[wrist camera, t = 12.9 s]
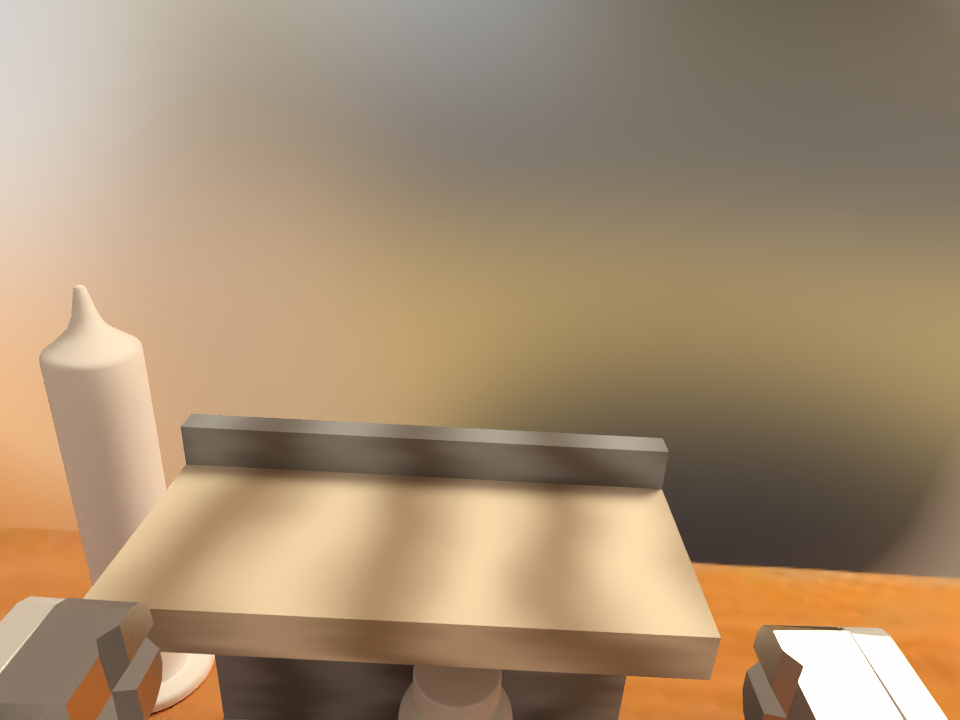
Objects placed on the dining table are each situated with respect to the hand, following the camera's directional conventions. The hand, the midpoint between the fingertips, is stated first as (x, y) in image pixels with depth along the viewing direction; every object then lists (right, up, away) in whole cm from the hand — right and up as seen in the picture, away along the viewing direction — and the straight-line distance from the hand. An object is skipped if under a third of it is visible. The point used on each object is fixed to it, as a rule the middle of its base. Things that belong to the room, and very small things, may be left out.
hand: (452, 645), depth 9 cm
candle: (-20, -16, +33) cm, 42 cm away
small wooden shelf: (-3, -19, +26) cm, 32 cm away
